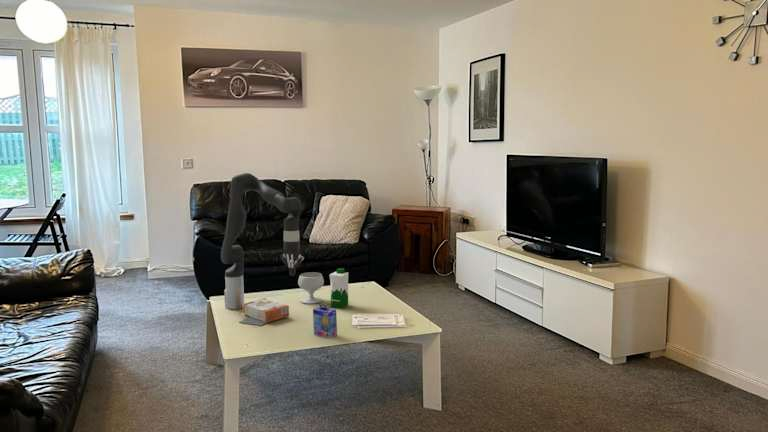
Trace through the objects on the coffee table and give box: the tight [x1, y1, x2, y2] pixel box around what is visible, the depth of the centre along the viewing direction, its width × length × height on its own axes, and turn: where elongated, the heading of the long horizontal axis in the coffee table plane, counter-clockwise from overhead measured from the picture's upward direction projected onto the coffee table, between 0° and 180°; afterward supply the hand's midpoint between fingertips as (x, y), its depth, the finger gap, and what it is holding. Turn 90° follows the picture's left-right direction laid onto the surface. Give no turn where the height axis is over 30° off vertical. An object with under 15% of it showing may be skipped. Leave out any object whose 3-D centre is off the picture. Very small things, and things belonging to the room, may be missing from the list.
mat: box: [238, 316, 270, 327], centre depth 285 cm, size 13×18×1 cm
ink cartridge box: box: [312, 304, 338, 339], centre depth 260 cm, size 10×6×14 cm, turn 58°
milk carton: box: [328, 267, 349, 310], centre depth 304 cm, size 9×9×20 cm
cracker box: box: [242, 297, 290, 323], centre depth 289 cm, size 14×6×21 cm
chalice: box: [297, 271, 325, 305], centre depth 314 cm, size 14×14×15 cm
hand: (292, 275), depth 274 cm, fingers closed
